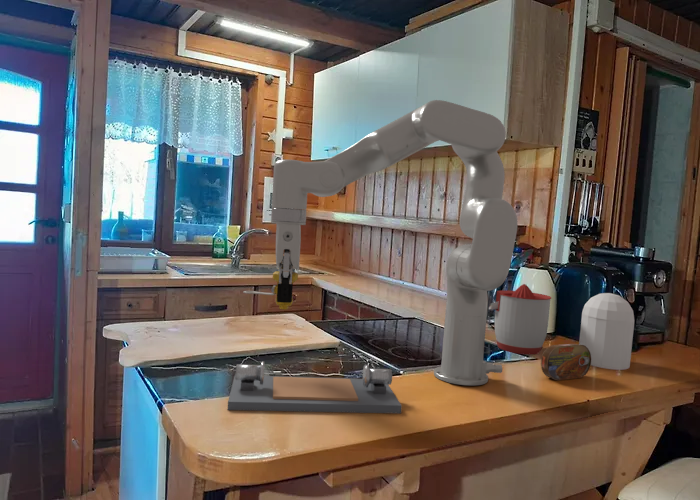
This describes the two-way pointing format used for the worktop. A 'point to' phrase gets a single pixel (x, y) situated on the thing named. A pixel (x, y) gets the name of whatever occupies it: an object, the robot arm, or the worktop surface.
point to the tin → (566, 361)
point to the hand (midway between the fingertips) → (284, 299)
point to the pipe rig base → (312, 396)
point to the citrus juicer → (521, 320)
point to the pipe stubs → (369, 377)
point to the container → (608, 331)
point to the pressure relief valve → (274, 289)
